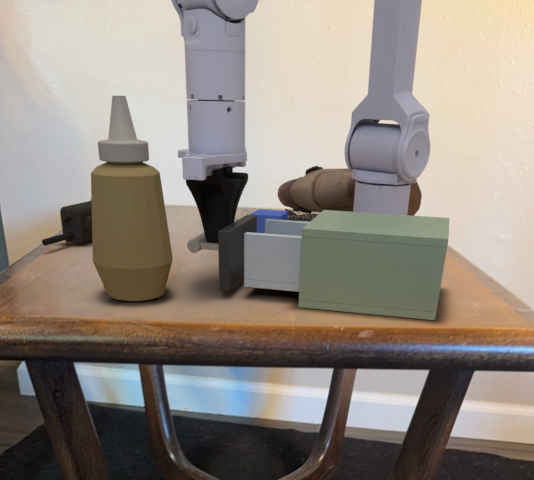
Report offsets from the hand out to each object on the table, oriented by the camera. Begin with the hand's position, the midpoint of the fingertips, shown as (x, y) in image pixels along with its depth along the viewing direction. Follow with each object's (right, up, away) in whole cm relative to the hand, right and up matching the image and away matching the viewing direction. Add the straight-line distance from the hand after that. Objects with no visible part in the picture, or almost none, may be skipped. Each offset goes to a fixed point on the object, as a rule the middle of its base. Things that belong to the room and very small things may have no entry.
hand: (218, 246), depth 68 cm
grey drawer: (+6, -4, +1) cm, 7 cm away
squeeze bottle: (-8, -6, -2) cm, 11 cm away
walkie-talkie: (-18, +13, +24) cm, 33 cm away
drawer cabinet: (+16, -6, -1) cm, 18 cm away
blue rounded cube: (+6, +8, +20) cm, 22 cm away
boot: (+26, +21, +33) cm, 47 cm away
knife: (+12, +17, +36) cm, 42 cm away
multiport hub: (+13, +12, +28) cm, 33 cm away
